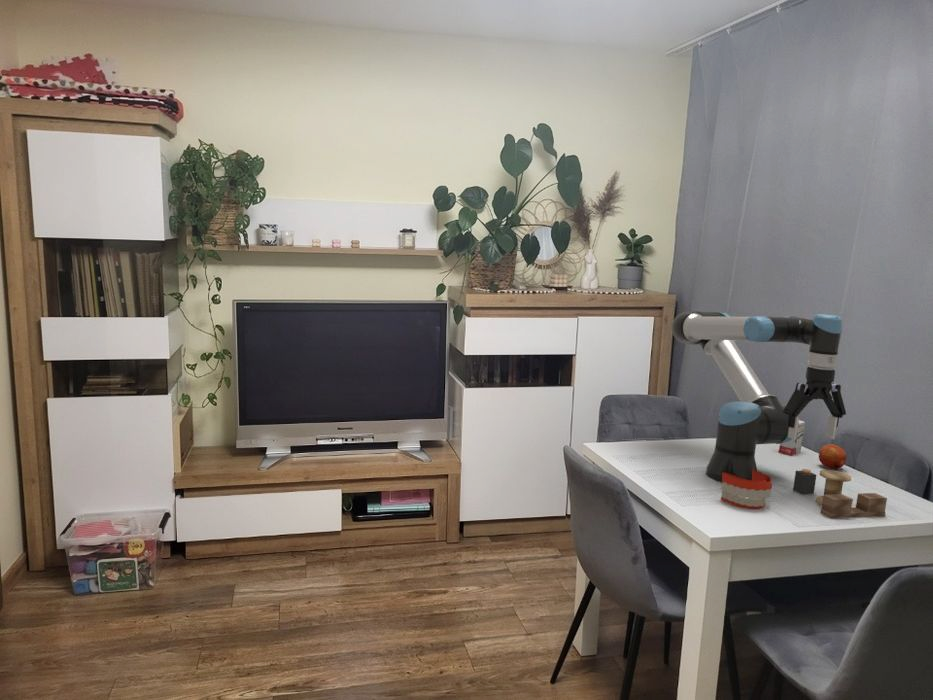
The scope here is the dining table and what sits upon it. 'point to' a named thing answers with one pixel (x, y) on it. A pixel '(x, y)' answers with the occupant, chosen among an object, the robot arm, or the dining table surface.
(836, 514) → the brown wooden u-shaped block
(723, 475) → the toy
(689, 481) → the dining table surface
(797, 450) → the ink box
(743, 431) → the robot arm
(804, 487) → the dark grey rectangular block
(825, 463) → the apple
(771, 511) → the dining table surface
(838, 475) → the wooden spool
